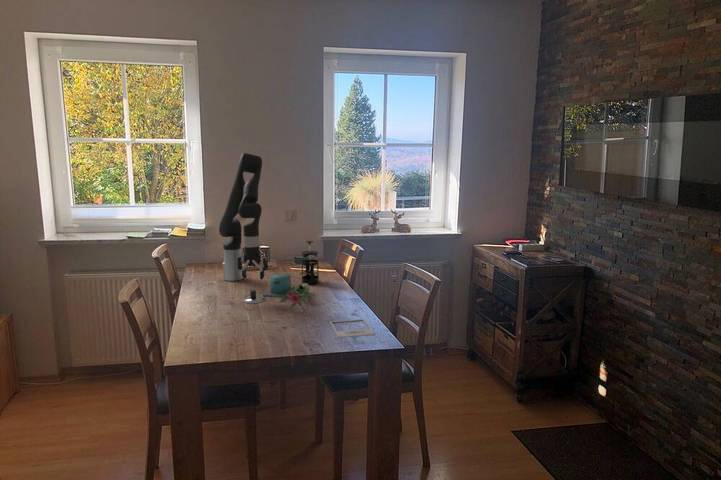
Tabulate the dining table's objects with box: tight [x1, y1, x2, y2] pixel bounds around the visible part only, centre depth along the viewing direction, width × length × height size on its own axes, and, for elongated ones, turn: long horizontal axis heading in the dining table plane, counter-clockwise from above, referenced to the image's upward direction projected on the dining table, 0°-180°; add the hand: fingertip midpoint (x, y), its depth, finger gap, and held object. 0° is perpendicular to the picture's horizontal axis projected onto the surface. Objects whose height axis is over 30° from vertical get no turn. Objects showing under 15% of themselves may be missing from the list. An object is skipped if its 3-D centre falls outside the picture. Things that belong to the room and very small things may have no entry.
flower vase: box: [279, 282, 312, 308], centre depth 257 cm, size 12×12×35 cm
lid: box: [241, 289, 266, 305], centre depth 262 cm, size 11×11×5 cm
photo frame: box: [329, 318, 375, 339], centre depth 222 cm, size 15×1×18 cm
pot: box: [262, 273, 297, 299], centre depth 273 cm, size 14×14×9 cm
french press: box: [300, 240, 320, 286], centre depth 291 cm, size 12×9×23 cm
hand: (253, 278), depth 260 cm, fingers open, 8 cm apart
